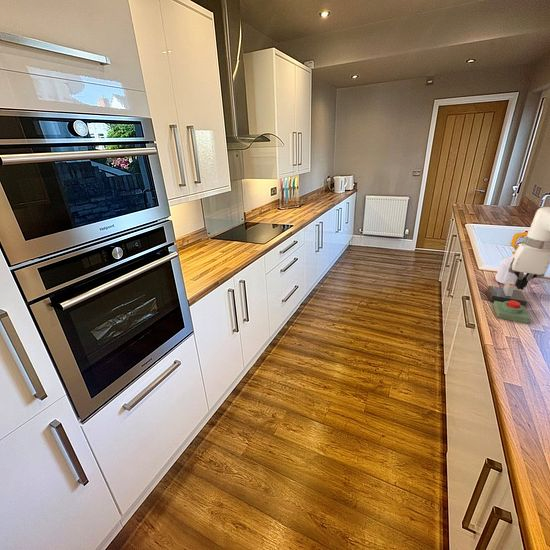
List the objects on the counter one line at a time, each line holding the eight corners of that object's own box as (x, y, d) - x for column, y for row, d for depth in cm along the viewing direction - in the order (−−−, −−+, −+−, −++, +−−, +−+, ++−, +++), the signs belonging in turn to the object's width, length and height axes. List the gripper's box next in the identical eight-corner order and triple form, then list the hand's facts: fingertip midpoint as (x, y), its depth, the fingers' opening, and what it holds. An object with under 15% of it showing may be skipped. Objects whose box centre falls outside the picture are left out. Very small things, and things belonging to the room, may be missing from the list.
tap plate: (518, 296, 127) (521, 290, 126) (524, 307, 119) (527, 301, 118) (486, 291, 132) (488, 285, 131) (490, 301, 124) (492, 295, 123)
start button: (517, 305, 115) (519, 301, 114) (519, 309, 112) (521, 305, 111) (506, 303, 116) (508, 299, 115) (508, 307, 113) (510, 303, 112)
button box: (522, 310, 118) (525, 302, 116) (529, 323, 110) (533, 314, 108) (492, 305, 122) (495, 296, 120) (497, 317, 114) (500, 308, 112)
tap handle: (502, 289, 127) (506, 278, 125) (508, 290, 127) (512, 279, 124) (505, 295, 123) (509, 284, 120) (511, 296, 122) (515, 285, 119)
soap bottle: (520, 287, 135) (540, 236, 124) (497, 284, 138) (515, 234, 127) (514, 278, 143) (532, 230, 132) (492, 276, 146) (508, 229, 135)
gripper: (561, 242, 103) (540, 287, 111) (510, 236, 108) (494, 280, 117) (569, 249, 97) (547, 296, 105) (514, 243, 102) (497, 288, 111)
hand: (519, 287), depth 111 cm, fingers closed
